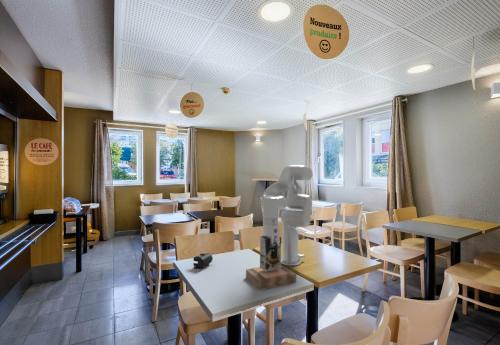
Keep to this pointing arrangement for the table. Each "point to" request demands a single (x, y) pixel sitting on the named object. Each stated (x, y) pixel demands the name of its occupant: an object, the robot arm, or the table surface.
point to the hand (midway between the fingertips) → (270, 256)
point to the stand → (270, 277)
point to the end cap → (202, 260)
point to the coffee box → (269, 255)
